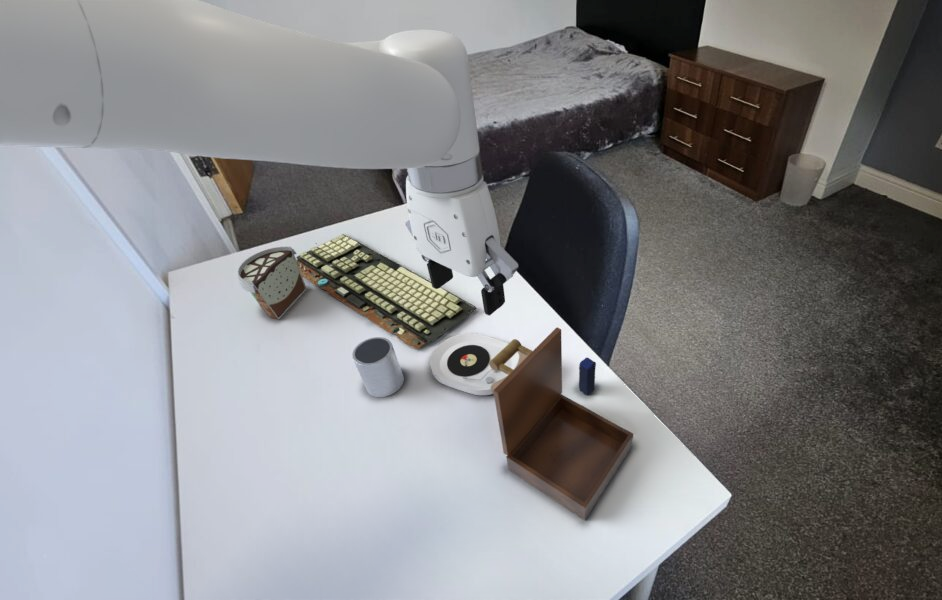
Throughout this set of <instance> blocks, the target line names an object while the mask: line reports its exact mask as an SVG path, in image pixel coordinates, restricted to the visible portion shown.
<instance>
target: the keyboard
mask: <svg viewBox="0 0 942 600" xmlns="http://www.w3.org/2000/svg"><path fill="white" fill-rule="evenodd" d="M317 244H318V243H316V242H315V245H317ZM295 258H296V261H297V264H298V266H299V269H300V272H301V275H302V277H303V278H304V279H306V280H308V281H309V282H310V283H312V284H314V285H315V286H316V287H318V288H320V289H322V290H325V291H326V293H327V294H329V295H330V296H332V297H333V298H335V299H337V300H338V301H340V302H341V303H343V304H344V305H346V306H347V307H349V308H351V309H352V310H354V311H355V312H357V313H358V314H360V315H361V316H363V317H366V318H367V320H369V321H370V322H372V323H374V324H375V325H377V326H378V327H380V328H382V329H383V330H385V331H386V332H387V333H389V334H390V335H396V338H397V339H398V340H399V341H400V342H402V343H404V344H406V345H407V346H409V347H413V348H414V349H416V350H419V349H420V348H421V347H423V346H424V345H426V344H427V343H432V342H434V341H435V340H437V339H438V338H439V337H441V336H442V335H444V334H445V333H446V332H448V330H449V331H450V330H451V329H452V328H453V327H454V326H456V325H458V324H459V323H461V321H463V320H464V319H465V318H467V317H468V316H470V315H471V314H472V313H474V312H475V311H476V310H477V307H476V305H474V304H472V303H470V302H468V301H466V300H464V299H463V298H461V297H459V296H458V295H456V294H454V293H452V292H451V291H448V290H446V289H445V288H443V287H442V286H441V287H440V288H438V289H435V288H433V287H432V284H431V280H428V279H426V278H424V277H422V276H421V275H419V274H417V273H415V272H414V271H412V270H410V269H408V268H406V267H404V266H403V265H401V264H399V263H398V262H396V261H393V260H391V259H390V258H389V257H386V256H385V255H383V254H381V253H379V252H377V251H375V250H373V249H372V248H370V247H368V246H367V245H364V244H362V242H361V243H360V242H359V241H357V240H355V239H353V238H352V237H350V236H348V235H346V234H344V233H342V234H341V235H338V236H337V237H335V238H333V239H331V240H328V241H327V242H325V243H322V244H320V245H318V246H314V247H311V248H310V250H308V251H303V252H301V253H299V255H298V256H295Z"/></svg>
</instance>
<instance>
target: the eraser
mask: <svg viewBox="0 0 942 600" xmlns="http://www.w3.org/2000/svg"><path fill="white" fill-rule="evenodd" d="M596 367H597V362H596V361H593V360H592V359H591V358H589V357H584V359H582V360H581V361H580V362H579V366H578V371H579V372H578V376H579V377H578V389H579V391H580V392H581V393H582V394H583V395H585V396H589V395H591V393H592V392H594V390H595V386H596V384H595V382H596Z"/></svg>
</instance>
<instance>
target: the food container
mask: <svg viewBox="0 0 942 600" xmlns="http://www.w3.org/2000/svg"><path fill="white" fill-rule="evenodd" d="M295 255H297V252H296V250H295V249H294V248H293V247H292V246H276V247H272V248H267V249H263V250H261V251H259V252H256V253H254V254H252V255H251V256H248V257H247V258H246V259H245V260H243V262H242V263H241V264H240V265H239V267H238V269H237V279H238V282H239V285H240V287H241V289H243V290H244V291H246V292H249V293H250V294H251V296H252V297H253V299H255V301H256V302H257V303H258V305H259V306H260V308H261V309H262V310H263V311H264V313H265V314H266V315H267V317H269V318H270V319H273V320H275V321H279V320H280V319H281V318H282V317H283V316H284V315H285V314H286V313H287V312H288V310H289V309H290V308H291V307H292V306H293V305H294V304H295V303H296V302H297V301H298V300H299V299H300V297H301V296H302V295H304V293H305V292H306V291H307V290H308V288H307V285H306V283H305V280H304V277H303V276H302V275H301V272H300V269H299V266H298V264H297V258H296V256H295Z"/></svg>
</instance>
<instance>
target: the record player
mask: <svg viewBox="0 0 942 600" xmlns="http://www.w3.org/2000/svg"><path fill="white" fill-rule="evenodd" d="M509 343H510V342H509ZM509 343H508V342H506V341H504V340H501V339H498V338H494V337H491V336H487V335H485V334H481V333H475V332H464V333H458V334H456V335H453V336H450V337H449V338H446V339H444V340H443V341H442V342H441V343H440V344H438V345H437V346H436V348H435V349H434V350H433V351H432V354H431V356H430V360H429V365H430V369H431V373H432V375H433V377H434V378H435V380H436V381H437V382H439V383H440V384H442V385H444V386H446V387H449V388H451V389H452V388H453V389H455V390H457V391H461V392H464V393H468V394H470V395H475V396H489V395H494V392H493V390H494V389H495V388H496V387H497V386H498V385H499V384H500V383H501V382H502V381H503V380H504V379H505V378H506V377H507V376H508V375H507V374H506V373H504V372H502V371H500V370H498V371H495V370H493V369H492V368H491V367H490V365H489V362H490V361H491V360H492V359H493V358H494V357H495V356H496V355H497V354H498V353H499V352H500V351H501V350H503V349H504V348H505V347H506V346H507V345H508V344H509ZM526 357H527V355H525V354H523V353H521V352H519V351H518V352H516V353H515V354H514V355H513V356H512V357H511V358H510V359H509V360H508V361H507V362H506V363H505V364H504V365H506V366H508V367H510V368H511V369H513V370H514V369H515V368H516V367H517V366H518V365H519V364H520V363H521V362H522V361H523V360H524V359H525V358H526Z"/></svg>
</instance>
